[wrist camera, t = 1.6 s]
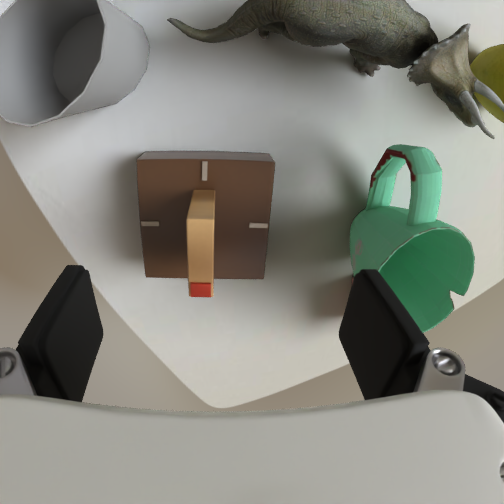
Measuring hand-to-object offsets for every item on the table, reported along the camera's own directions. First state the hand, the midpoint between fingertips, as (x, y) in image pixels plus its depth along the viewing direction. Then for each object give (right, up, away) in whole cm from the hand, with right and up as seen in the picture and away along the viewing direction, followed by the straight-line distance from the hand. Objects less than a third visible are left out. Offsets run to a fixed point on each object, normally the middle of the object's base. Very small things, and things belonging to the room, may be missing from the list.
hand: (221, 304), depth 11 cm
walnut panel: (-3, +5, +16) cm, 17 cm away
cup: (-11, +17, +9) cm, 22 cm away
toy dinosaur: (+7, +19, +10) cm, 23 cm away
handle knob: (-3, +4, +13) cm, 14 cm away
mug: (+12, +6, +18) cm, 22 cm away
